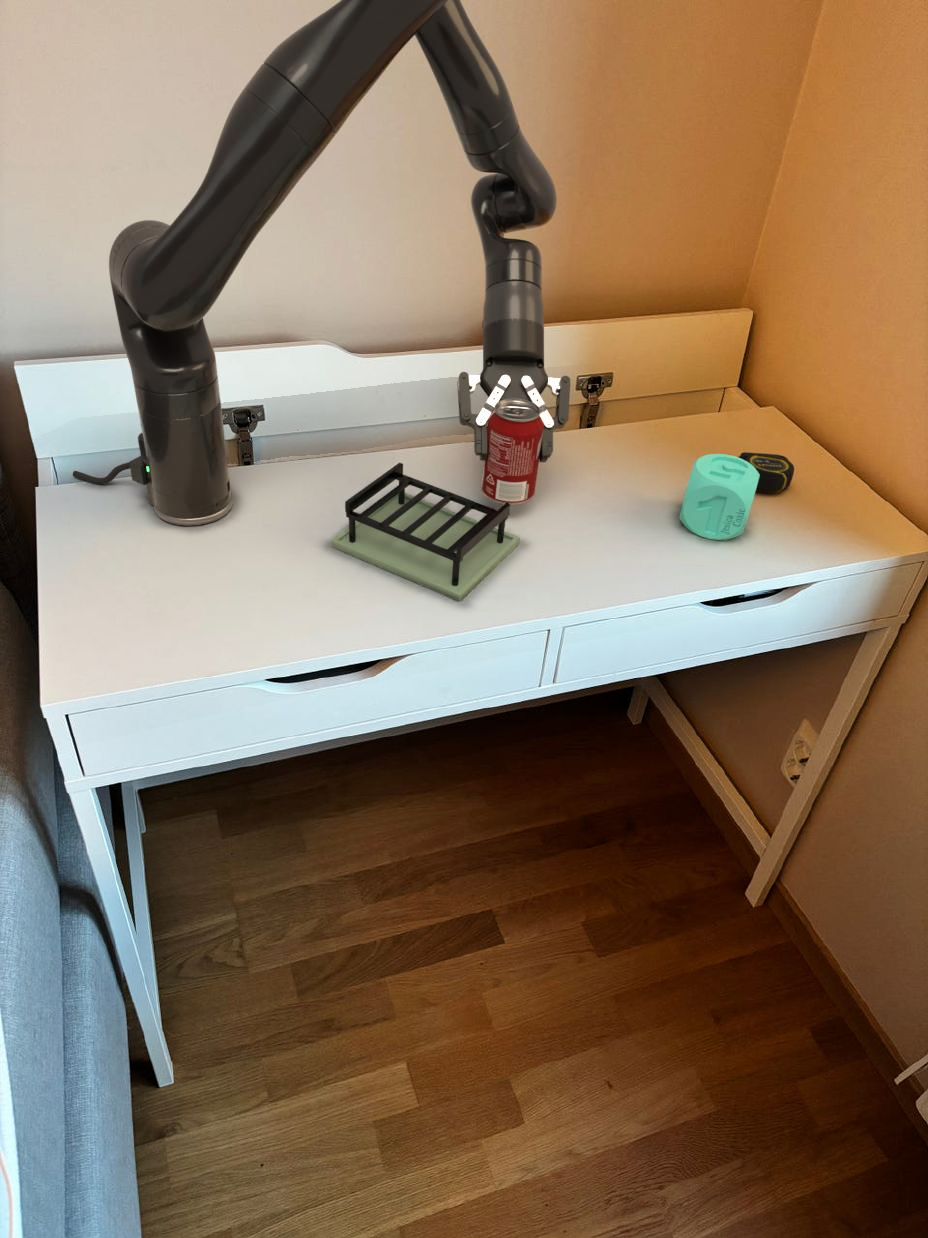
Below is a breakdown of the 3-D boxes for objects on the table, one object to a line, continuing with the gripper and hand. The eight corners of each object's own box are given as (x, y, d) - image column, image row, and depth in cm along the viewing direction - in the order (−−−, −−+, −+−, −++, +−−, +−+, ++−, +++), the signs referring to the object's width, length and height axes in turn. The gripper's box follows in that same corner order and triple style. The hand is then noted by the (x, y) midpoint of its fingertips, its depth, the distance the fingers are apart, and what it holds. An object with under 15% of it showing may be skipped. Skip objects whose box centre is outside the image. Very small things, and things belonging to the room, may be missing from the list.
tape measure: (782, 474, 132) (789, 451, 130) (792, 500, 127) (800, 476, 125) (734, 470, 132) (740, 446, 130) (742, 496, 127) (749, 472, 125)
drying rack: (345, 540, 112) (344, 501, 109) (398, 499, 120) (399, 462, 116) (458, 588, 106) (461, 548, 103) (506, 542, 114) (510, 503, 111)
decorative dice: (675, 531, 119) (689, 476, 114) (686, 500, 125) (699, 447, 120) (738, 547, 117) (755, 492, 112) (746, 515, 123) (763, 461, 118)
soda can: (529, 512, 117) (541, 426, 109) (476, 503, 117) (484, 416, 110) (537, 485, 122) (549, 400, 114) (486, 476, 123) (494, 391, 115)
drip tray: (331, 547, 112) (331, 540, 111) (397, 496, 122) (397, 489, 121) (459, 602, 105) (460, 595, 105) (519, 544, 115) (520, 537, 114)
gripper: (458, 313, 112) (457, 450, 110) (577, 318, 113) (578, 453, 112) (452, 337, 119) (452, 466, 118) (564, 342, 121) (565, 469, 119)
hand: (513, 459), depth 115 cm, fingers closed on soda can, 7 cm apart
